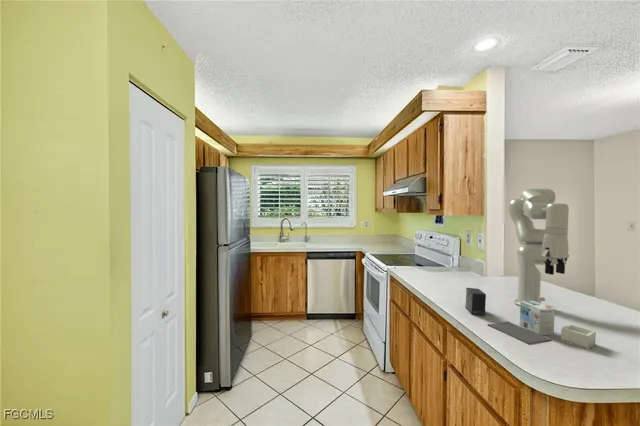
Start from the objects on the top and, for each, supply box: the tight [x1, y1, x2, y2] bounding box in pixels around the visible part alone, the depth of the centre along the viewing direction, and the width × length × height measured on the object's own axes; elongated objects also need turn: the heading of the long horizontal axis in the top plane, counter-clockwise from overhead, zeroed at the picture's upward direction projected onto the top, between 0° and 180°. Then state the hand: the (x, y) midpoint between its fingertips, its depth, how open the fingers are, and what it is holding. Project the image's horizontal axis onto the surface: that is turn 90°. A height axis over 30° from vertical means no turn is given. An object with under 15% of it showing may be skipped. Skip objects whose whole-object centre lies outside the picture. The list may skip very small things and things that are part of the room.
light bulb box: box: [519, 301, 556, 336], centre depth 122 cm, size 11×7×11 cm, turn 5°
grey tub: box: [560, 323, 597, 350], centre depth 111 cm, size 8×8×5 cm
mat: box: [487, 321, 552, 345], centre depth 119 cm, size 12×18×1 cm, turn 18°
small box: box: [464, 287, 487, 316], centre depth 142 cm, size 11×6×10 cm, turn 168°
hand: (554, 273), depth 125 cm, fingers open, 5 cm apart
